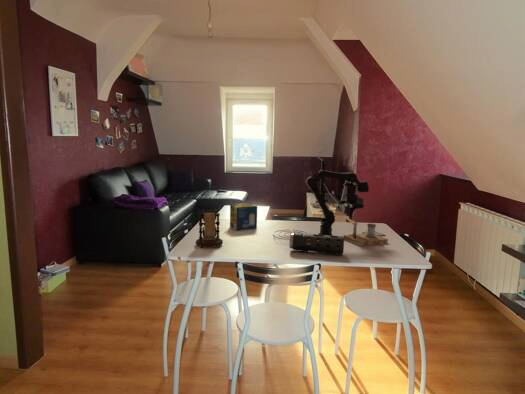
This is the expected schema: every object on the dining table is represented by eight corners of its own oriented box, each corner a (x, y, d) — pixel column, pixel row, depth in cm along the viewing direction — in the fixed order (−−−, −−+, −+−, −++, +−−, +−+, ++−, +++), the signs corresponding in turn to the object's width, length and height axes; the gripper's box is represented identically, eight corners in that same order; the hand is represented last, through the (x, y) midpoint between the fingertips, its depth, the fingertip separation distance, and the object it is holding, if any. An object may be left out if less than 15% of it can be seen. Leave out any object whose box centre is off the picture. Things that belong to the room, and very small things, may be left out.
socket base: (359, 246, 214) (360, 242, 213) (343, 239, 228) (343, 235, 228) (387, 243, 222) (387, 239, 221) (369, 236, 236) (370, 232, 236)
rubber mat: (372, 236, 236) (372, 235, 236) (362, 232, 245) (362, 232, 245) (384, 235, 240) (384, 234, 239) (374, 231, 249) (374, 230, 249)
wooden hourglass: (197, 250, 200) (197, 213, 197) (194, 242, 214) (194, 207, 211) (224, 248, 204) (225, 212, 200) (220, 241, 218) (220, 207, 214)
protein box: (229, 227, 251) (229, 204, 249) (250, 225, 258) (250, 203, 256) (236, 230, 242) (236, 207, 240) (257, 228, 249) (257, 205, 247)
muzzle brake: (343, 258, 193) (344, 238, 191) (288, 253, 198) (289, 234, 197) (342, 252, 202) (344, 233, 200) (291, 248, 208) (291, 230, 206)
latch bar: (356, 238, 221) (357, 222, 219) (353, 238, 221) (354, 222, 219) (347, 230, 240) (348, 215, 238) (345, 230, 240) (346, 215, 238)
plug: (369, 242, 223) (371, 225, 222) (364, 239, 228) (365, 223, 226) (376, 241, 225) (377, 225, 224) (371, 239, 230) (372, 223, 228)
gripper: (371, 193, 228) (370, 219, 231) (352, 190, 245) (352, 213, 248) (356, 195, 224) (355, 220, 226) (338, 191, 241) (337, 215, 243)
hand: (350, 217), depth 236 cm, fingers closed
